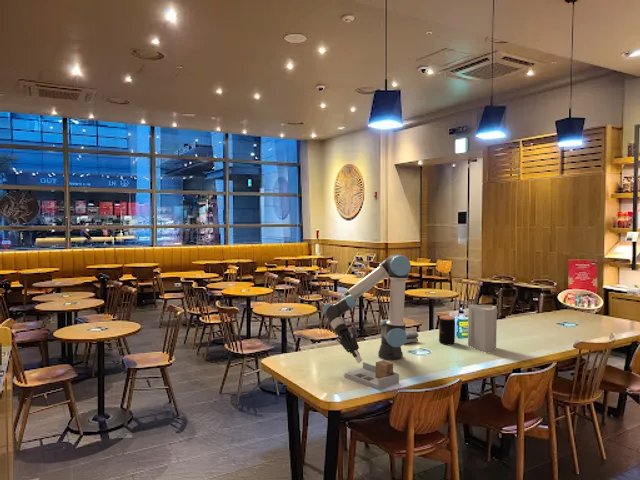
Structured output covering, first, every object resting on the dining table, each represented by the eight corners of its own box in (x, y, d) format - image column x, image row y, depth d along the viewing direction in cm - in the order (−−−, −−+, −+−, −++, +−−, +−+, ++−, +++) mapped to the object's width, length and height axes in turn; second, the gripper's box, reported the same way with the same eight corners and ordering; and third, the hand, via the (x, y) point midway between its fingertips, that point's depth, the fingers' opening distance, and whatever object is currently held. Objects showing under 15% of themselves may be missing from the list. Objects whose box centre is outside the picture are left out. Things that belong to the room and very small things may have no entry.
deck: (363, 371, 261) (363, 362, 261) (398, 383, 241) (399, 373, 241) (344, 376, 252) (344, 367, 252) (379, 389, 232) (379, 379, 232)
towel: (402, 345, 318) (402, 333, 318) (385, 339, 334) (385, 328, 334) (419, 342, 326) (419, 331, 326) (401, 336, 342) (402, 326, 341)
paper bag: (504, 351, 303) (505, 308, 302) (485, 353, 298) (486, 309, 297) (485, 344, 321) (486, 303, 320) (467, 345, 316) (468, 304, 315)
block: (382, 374, 248) (383, 360, 248) (393, 378, 243) (393, 363, 243) (375, 377, 244) (375, 362, 244) (385, 380, 239) (385, 365, 239)
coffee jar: (438, 340, 330) (438, 315, 329) (453, 341, 328) (453, 315, 328) (439, 344, 319) (440, 318, 319) (455, 345, 318) (456, 319, 317)
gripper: (344, 328, 275) (365, 362, 263) (328, 332, 267) (348, 367, 255) (350, 321, 271) (371, 355, 259) (334, 324, 263) (355, 360, 250)
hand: (360, 361), depth 257 cm, fingers closed
